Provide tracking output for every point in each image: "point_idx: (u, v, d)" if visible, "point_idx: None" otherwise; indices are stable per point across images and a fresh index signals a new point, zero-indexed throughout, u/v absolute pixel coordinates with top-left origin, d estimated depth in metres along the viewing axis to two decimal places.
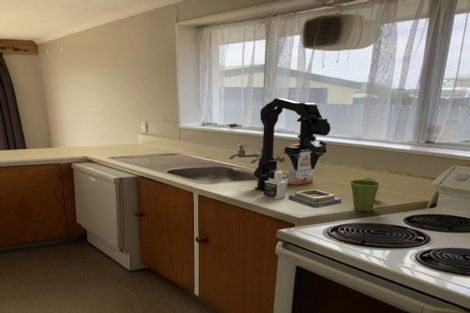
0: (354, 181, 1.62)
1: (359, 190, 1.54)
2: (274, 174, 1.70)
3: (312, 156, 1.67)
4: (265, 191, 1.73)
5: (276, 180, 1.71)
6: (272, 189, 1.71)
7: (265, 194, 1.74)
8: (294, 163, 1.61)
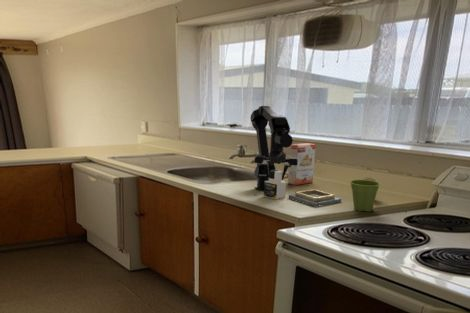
0: (354, 181, 1.62)
1: (359, 190, 1.54)
2: (274, 174, 1.70)
3: None
4: (265, 191, 1.73)
5: (276, 180, 1.71)
6: (272, 189, 1.71)
7: (265, 194, 1.74)
8: (266, 171, 1.74)
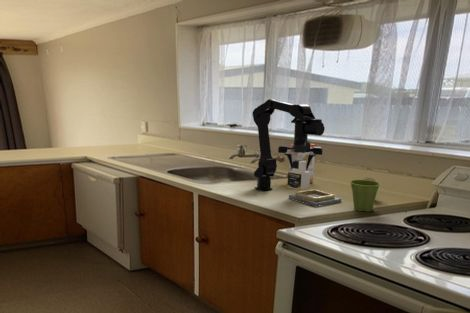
0: (354, 181, 1.62)
1: (359, 190, 1.54)
2: (298, 164, 1.67)
3: None
4: (289, 181, 1.70)
5: (300, 170, 1.67)
6: (296, 179, 1.67)
7: (289, 184, 1.70)
8: (289, 161, 1.71)
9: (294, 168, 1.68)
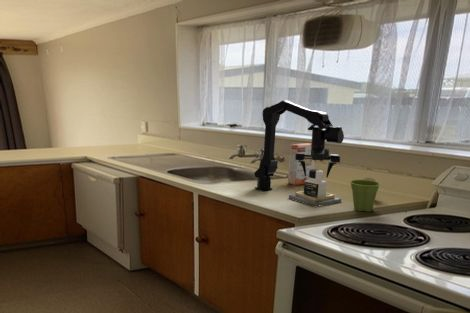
0: (354, 181, 1.62)
1: (359, 190, 1.54)
2: (315, 173, 1.66)
3: (328, 165, 1.69)
4: (305, 191, 1.70)
5: (317, 180, 1.67)
6: (313, 189, 1.67)
7: None
8: (303, 168, 1.70)
9: (311, 178, 1.68)
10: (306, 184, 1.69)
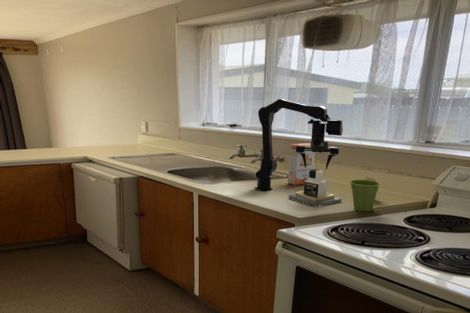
0: (354, 181, 1.62)
1: (359, 190, 1.54)
2: (315, 173, 1.66)
3: (327, 157, 1.76)
4: (305, 191, 1.70)
5: (317, 180, 1.67)
6: (313, 189, 1.67)
7: None
8: (303, 160, 1.77)
9: (311, 178, 1.68)
10: (306, 184, 1.69)
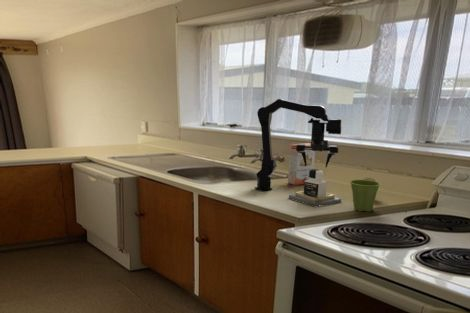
0: (354, 181, 1.62)
1: (359, 190, 1.54)
2: (315, 173, 1.66)
3: (327, 156, 1.79)
4: (305, 191, 1.70)
5: (317, 180, 1.67)
6: (313, 189, 1.67)
7: None
8: None
9: (311, 178, 1.68)
10: (306, 184, 1.69)
